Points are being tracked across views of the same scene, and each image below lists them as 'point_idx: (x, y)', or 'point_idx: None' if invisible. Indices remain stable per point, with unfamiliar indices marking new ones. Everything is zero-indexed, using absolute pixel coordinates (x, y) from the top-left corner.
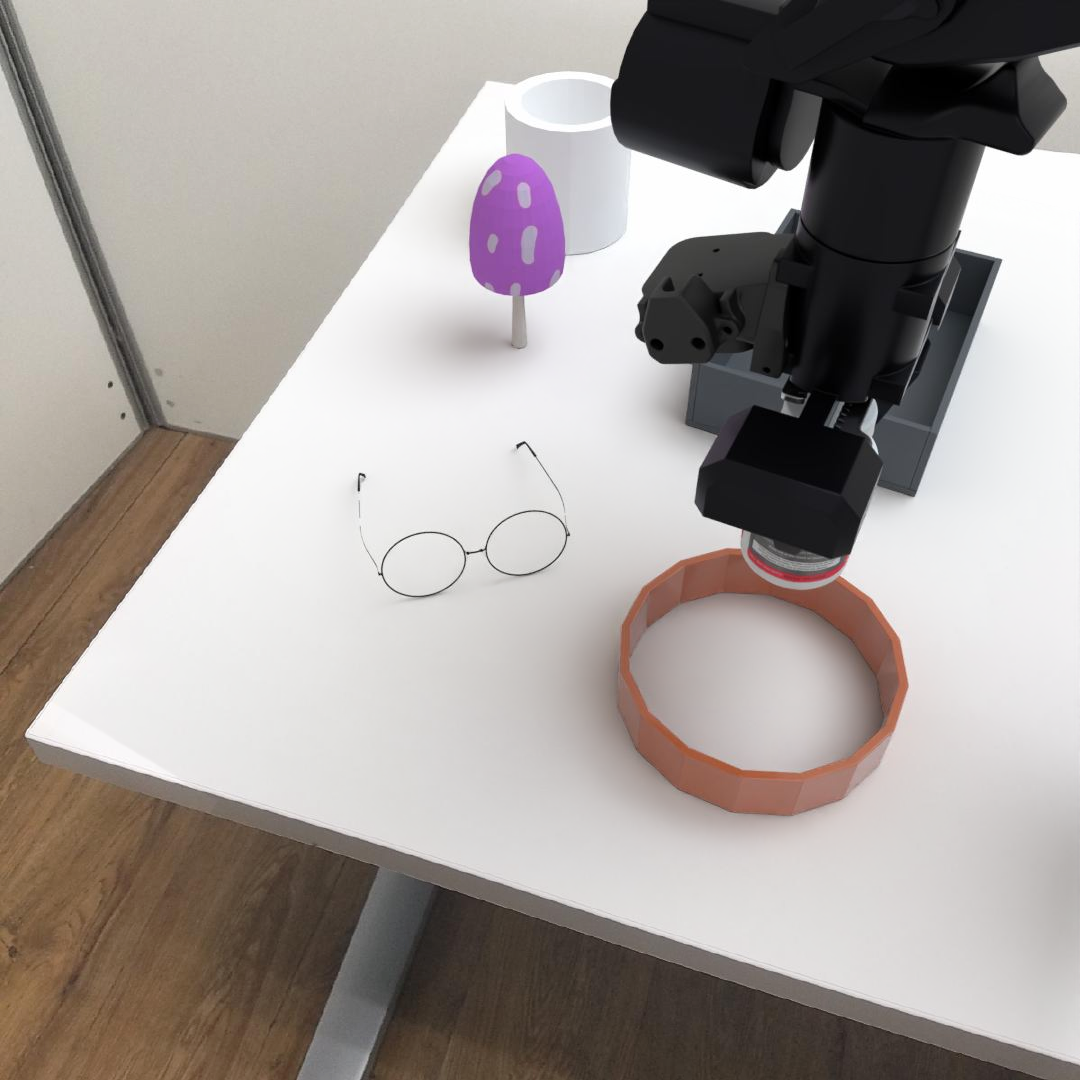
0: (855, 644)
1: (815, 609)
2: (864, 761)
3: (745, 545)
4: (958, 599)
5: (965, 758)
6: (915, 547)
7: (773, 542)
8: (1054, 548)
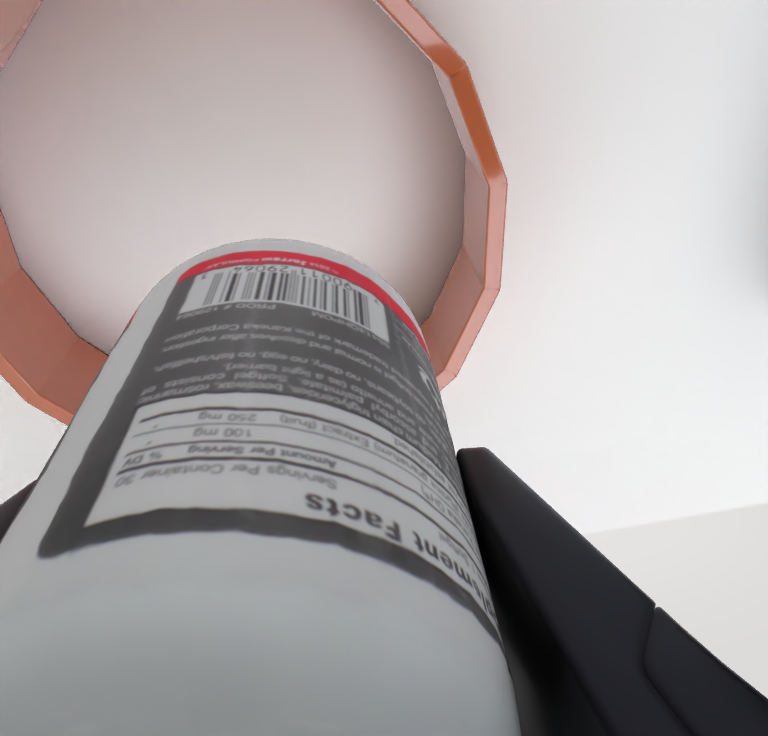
0: (421, 324)
1: (462, 247)
2: None
3: (147, 301)
4: (576, 419)
5: None
6: (669, 341)
7: (6, 501)
8: (719, 494)
